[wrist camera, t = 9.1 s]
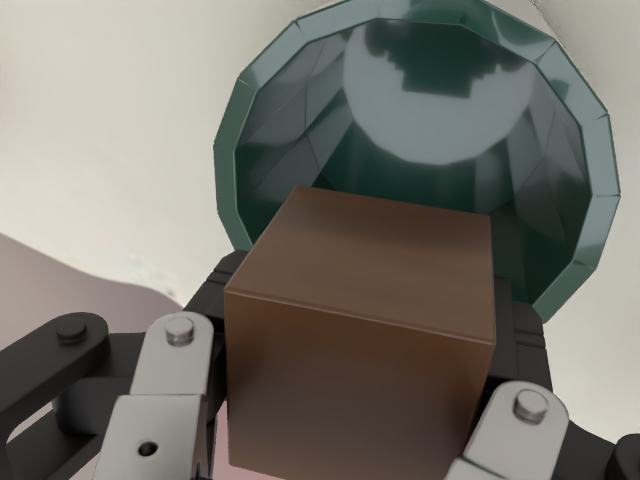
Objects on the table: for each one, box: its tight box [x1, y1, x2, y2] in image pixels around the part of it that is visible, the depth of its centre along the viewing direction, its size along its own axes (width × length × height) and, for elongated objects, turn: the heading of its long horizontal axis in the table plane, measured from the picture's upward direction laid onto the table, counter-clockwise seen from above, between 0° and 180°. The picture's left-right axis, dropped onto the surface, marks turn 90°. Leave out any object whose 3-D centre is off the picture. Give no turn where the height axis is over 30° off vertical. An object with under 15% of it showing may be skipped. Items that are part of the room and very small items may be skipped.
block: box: [224, 185, 496, 480], centre depth 12 cm, size 5×5×5 cm
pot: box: [213, 0, 621, 325], centre depth 22 cm, size 13×13×10 cm
